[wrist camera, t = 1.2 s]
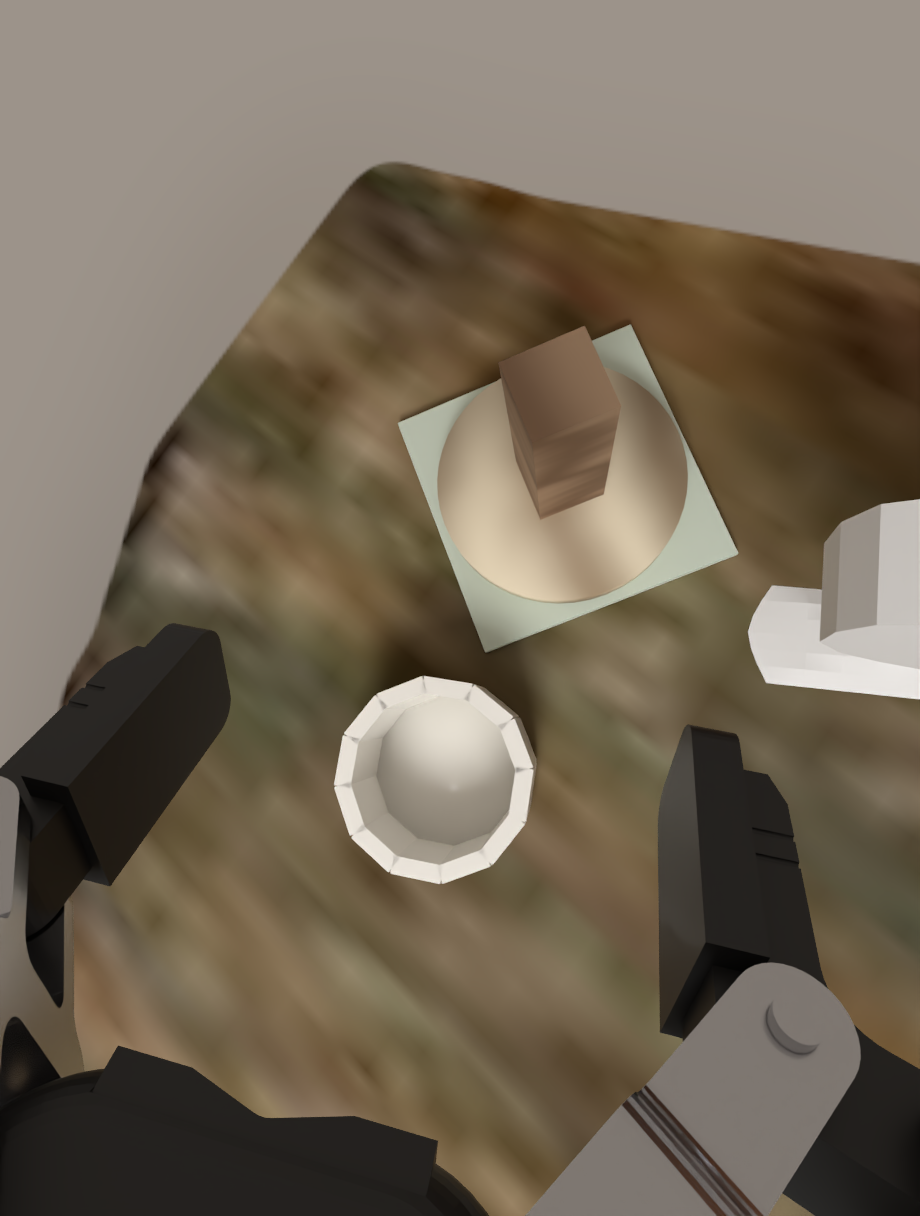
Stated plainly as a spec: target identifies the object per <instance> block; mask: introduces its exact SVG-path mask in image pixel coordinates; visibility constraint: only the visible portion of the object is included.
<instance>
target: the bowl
mask: <svg viewBox="0 0 920 1216" xmlns="http://www.w3.org/2000/svg"><path fill="white" fill-rule="evenodd" d="M518 717H519V716H518V715H517V714H516V713H515V712H514V711H512V710H511V709H510V708H509V707H508V706H506V705H505V704H504V703H503V702H502V701H501V700H499V699H498V698H497V697H495V696H494V695H493V694H492V693H491V692H489V691H488V690H487V689H486V688H484V687H481V686H478V685H475V684H471V683H465V682H459V681H453V680H447V679H440V678H434V677H428V676H424V677H423V676H421V677H418V678H416V679H413V680H411V681H408V682H405V683H403V684H400V685H398V686H395V687H393V688H390V689H387V690H385V691H382V692H380V693H377V695H375V696H374V697H373V698H372V699H371V701H370V702H369V703H368V704H367V705H366V707H365V708H364V709H363V710H362V712H361V713H360V714H359V715H358V717H357V718H356V719H355V720H354V722H353V723H352V724H351V725H350V726H349V728H348V729H347V730H346V731H345V733H344V734H345V735H343V738H342V744H341V749H340V755H339V760H338V766H337V771H336V777H335V782H334V785H337V786H336V787H334V788H335V791H336V795H337V798H338V801H339V804H340V807H341V810H342V813H343V816H344V819H345V822H346V825H347V829H348V832H349V835H350V836H351V835H353V834H354V835H353V836H352V837H351V838H352V839H353V840H354V841H355V842H356V843H357V844H358V845H359V846H360V847H362V848H363V849H364V850H365V851H366V852H367V853H368V854H369V855H370V856H371V857H372V858H373V859H374V860H376V861H377V862H378V863H379V864H380V865H381V866H382V867H383V868H384V869H385V870H386V871H387V872H389V871H391V874H395V875H400V876H404V877H409V878H414V879H418V880H423V881H428V882H433V883H437V884H441V882H442V884H444V883H446V882H449V881H452V880H455V879H457V878H460V877H463V876H466V875H468V874H471V873H474V872H477V871H479V870H482V869H485V868H488V867H490V866H491V864H492V865H493V864H494V862H495V861H496V860H497V859H498V857H499V856H500V855H501V854H502V852H503V851H504V850H505V849H506V847H507V846H508V845H509V844H510V842H511V841H512V840H513V839H514V837H515V836H516V835H517V834H518V832H519V831H520V830H521V829H522V827H523V826H524V825H525V822H526V820H527V817H528V814H529V811H530V806H531V800H532V793H533V786H534V779H535V772H536V766H537V762H536V761H537V760H536V757H535V755H534V752H533V749H532V747H531V744H530V740H529V738H528V735H527V733H526V731H525V729H524V726H523V723H522V721H521V718H518Z"/></svg>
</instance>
